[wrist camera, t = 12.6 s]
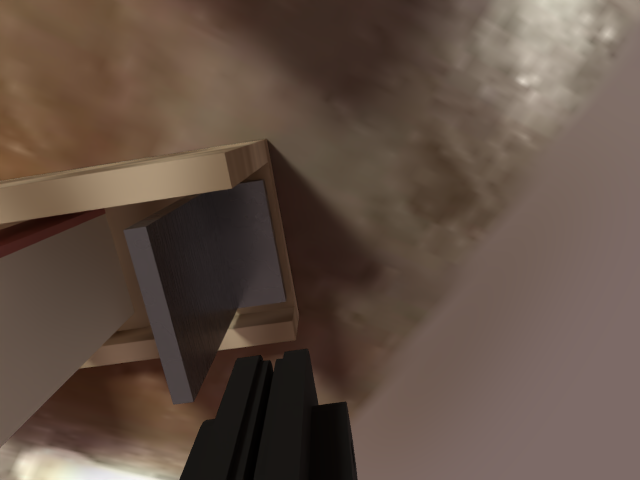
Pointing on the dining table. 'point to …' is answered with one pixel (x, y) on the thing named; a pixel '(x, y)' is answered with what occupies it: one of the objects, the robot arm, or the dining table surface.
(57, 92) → the dining table surface
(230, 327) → the rack
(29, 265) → the book
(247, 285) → the bookend
